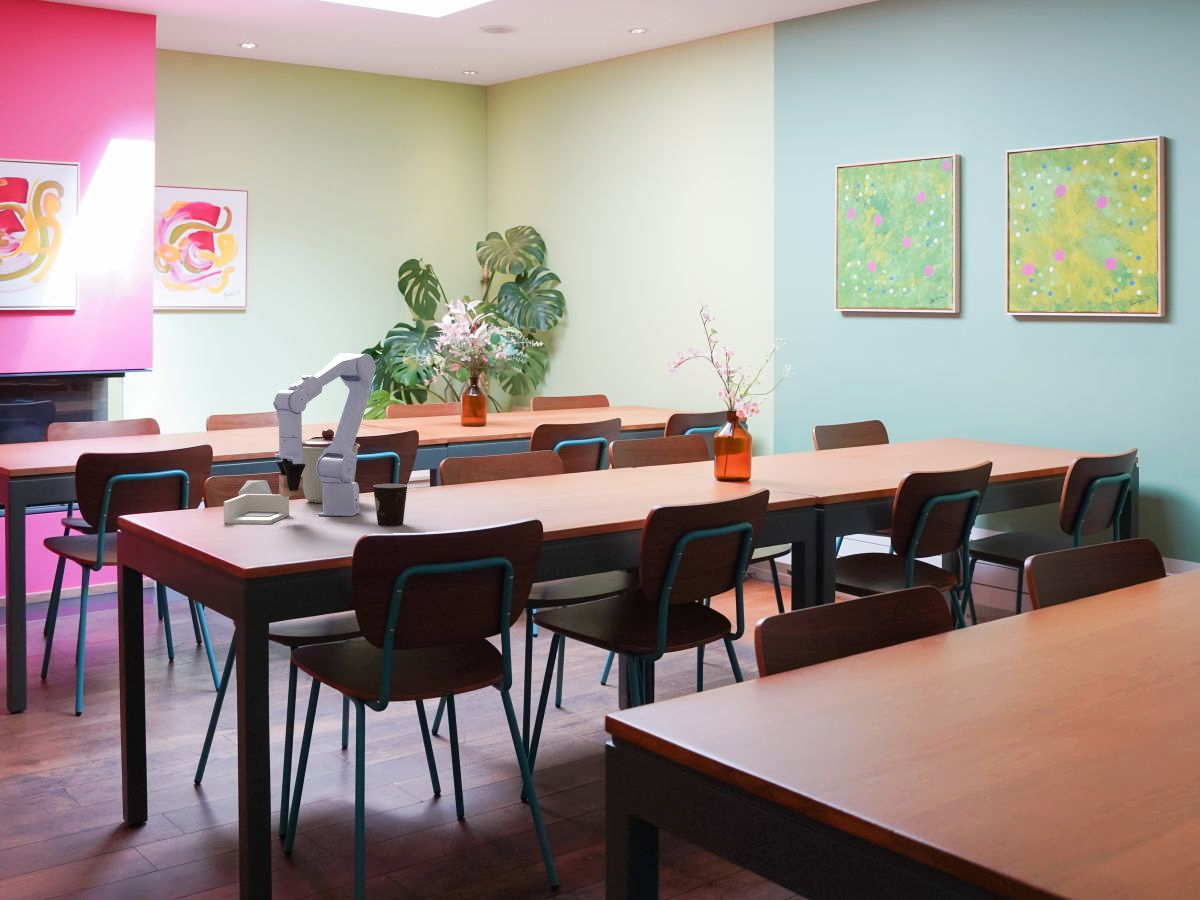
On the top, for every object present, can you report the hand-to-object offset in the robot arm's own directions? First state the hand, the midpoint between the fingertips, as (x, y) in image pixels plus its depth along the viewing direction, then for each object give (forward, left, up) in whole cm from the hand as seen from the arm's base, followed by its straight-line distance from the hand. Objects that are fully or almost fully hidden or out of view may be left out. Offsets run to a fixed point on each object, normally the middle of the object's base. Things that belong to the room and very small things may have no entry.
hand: (291, 489), depth 324 cm
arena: (+10, -3, -8) cm, 13 cm away
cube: (0, 0, -2) cm, 2 cm away
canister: (+1, -39, -9) cm, 40 cm away
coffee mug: (-27, +4, -9) cm, 28 cm away
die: (+16, -20, -9) cm, 27 cm away
